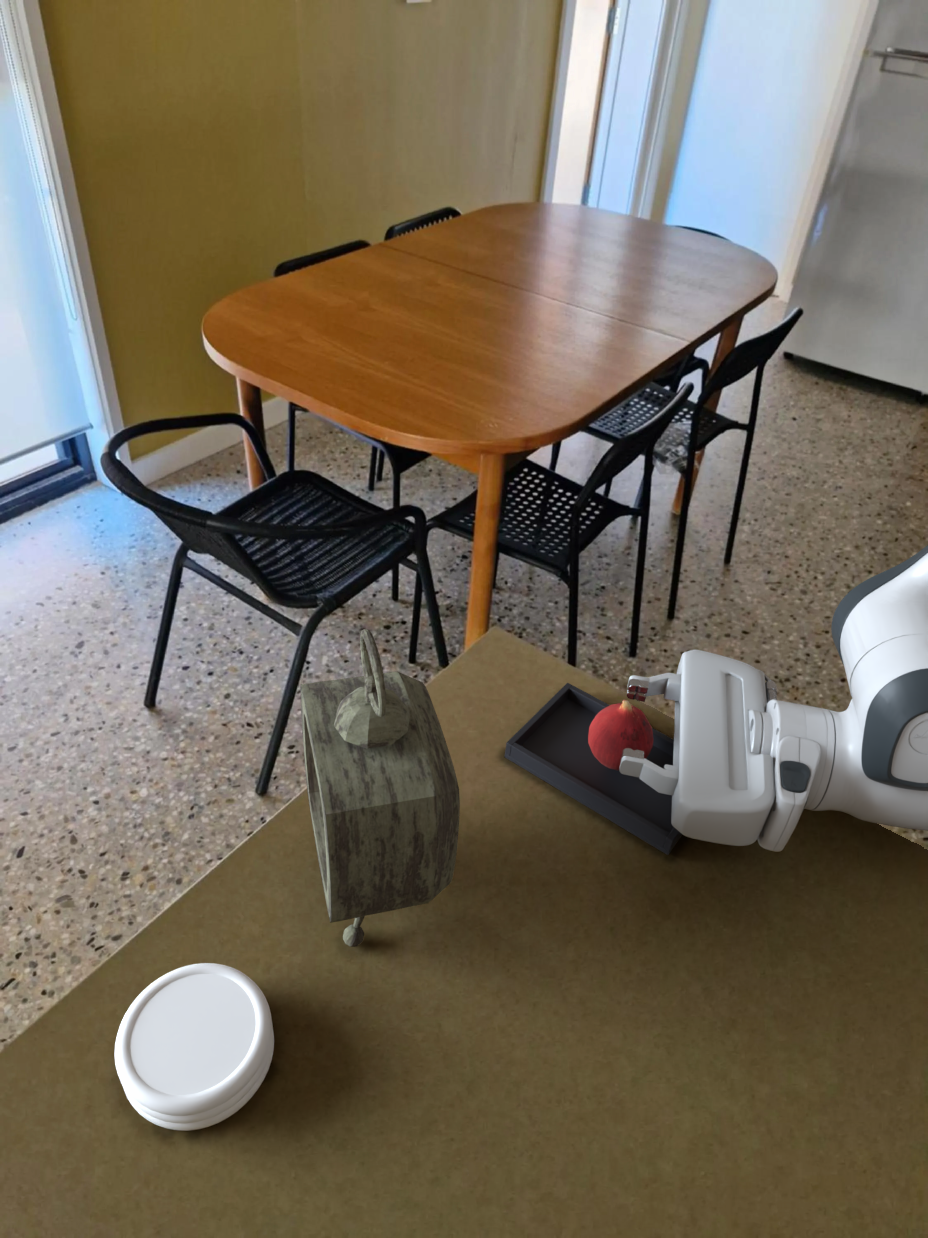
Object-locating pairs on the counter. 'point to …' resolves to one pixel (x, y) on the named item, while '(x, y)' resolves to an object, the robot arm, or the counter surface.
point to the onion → (619, 733)
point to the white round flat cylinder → (194, 1046)
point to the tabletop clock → (378, 792)
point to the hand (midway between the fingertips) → (624, 721)
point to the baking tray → (593, 767)
